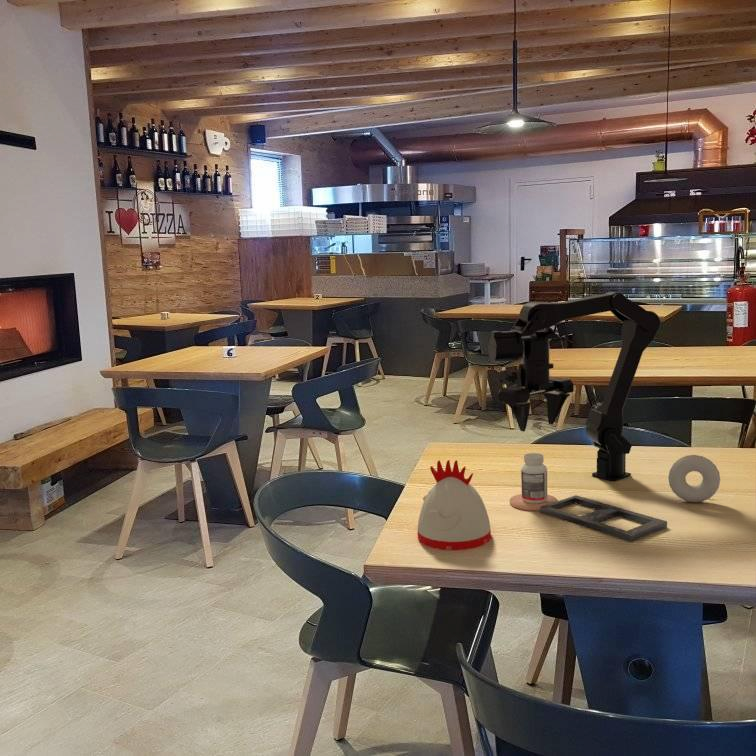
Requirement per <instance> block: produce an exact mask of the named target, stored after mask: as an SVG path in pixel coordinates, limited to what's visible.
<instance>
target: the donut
mask: <svg viewBox="0 0 756 756" xmlns="http://www.w3.org/2000/svg"><path fill="white" fill-rule="evenodd" d="M691 472H697V473H699V474H700V475H701V476H702V481H701V482H700V484H698V485H691V484H688V482H687V480H686V477H687V476H688V474H689V473H691ZM667 477H668V478H667V479H668V483H669V484H668V485H669V487H670V488H671V491H672V493H674V494H675V495H676V496H677V497H678V498H679V499H681V500H683V501H685V502H689V503H693V504H694V503H703V502H705V501H707V500H710V499H711V498H713V496H714V495H716V493H717V491H718V490H719V488H720V484H721V476H720V471H719V469H718V467H717V465H716V464H715V463H714V462H713V461H711V460H710V459H709V458H707V457H705V456H703V455H699V454H698V455H697V454H691V455H690V454H689V455H685V456H683V457H680V458H679V459H677V460H676V461H675V462H673V464H672V466H671V467H670V469H669V472H668V476H667Z"/></svg>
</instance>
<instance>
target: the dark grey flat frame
mask: <svg viewBox="0 0 756 756" xmlns="http://www.w3.org/2000/svg"><path fill="white" fill-rule="evenodd" d="M574 504H576V505H579V506H583V507H586V508H589V509H593V511H590V512H588V513H585V514H582V515H577V514H574V513H571V512H567V511H564V510H561V509H563V508H565V507H568V506H572V505H574ZM539 513H540V514H543V515H546V516H549V517H552V518H556V519H558V520H562V521H565V522H568V523H570V524H574V525H576V526H577V525H578V526H580V527H584V528H587V529H589V530H593V531H595V532H599V533H602V534H605V535H608V536H611V537H613V538H617V539H620V540H624V541H627V542H630V543H632V542H634V541H637V540H639V539H642V538H644V537H647V536H649V535H651V534H654V533H656V532H660V531H662V530H664V529H667V528H668V521H667V520H663V519H660V518H657V517H653V516H650V515H646V514H643V513H640V512H636V511H632V510H629V509H625V508H621V507H618V506H615V505H611V504H608V503H604V502H601V501H598V500H594V499H591V498H587V497H583V496H579V495H576V494H575V495H571V496H569V497H567V498H564V499H559V500H558V501H557V502H554V503H551V504H548V505H545V506H541V507H540V511H539ZM619 517H620V518H622V519H627V520H629V521H633V522H637V523H639V524H641V525H638V526H636V527H633V528H631V529H628V530H625V529H622V528H619V527H615V526H612V525H609V524H605V523H604V522H607V521H609V520H612V519H615V518H619Z"/></svg>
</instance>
